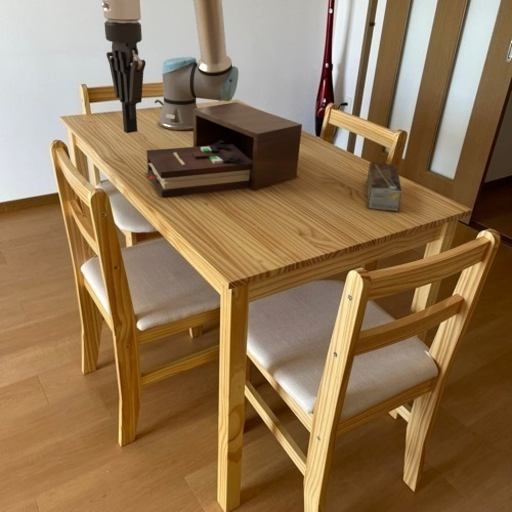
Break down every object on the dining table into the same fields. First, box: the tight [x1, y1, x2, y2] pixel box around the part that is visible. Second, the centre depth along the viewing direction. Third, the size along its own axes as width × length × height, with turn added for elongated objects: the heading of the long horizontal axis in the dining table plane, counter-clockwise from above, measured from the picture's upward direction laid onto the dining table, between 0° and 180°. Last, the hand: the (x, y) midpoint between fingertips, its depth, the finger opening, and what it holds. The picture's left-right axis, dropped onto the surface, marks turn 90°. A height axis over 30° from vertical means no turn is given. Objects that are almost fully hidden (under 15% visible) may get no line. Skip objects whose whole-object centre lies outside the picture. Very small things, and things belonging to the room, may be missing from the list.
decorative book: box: [145, 141, 253, 198], centre depth 133 cm, size 19×8×30 cm
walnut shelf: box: [192, 101, 303, 191], centre depth 140 cm, size 28×16×16 cm, turn 42°
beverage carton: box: [366, 162, 402, 212], centre depth 131 cm, size 8×19×7 cm, turn 170°
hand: (130, 131), depth 114 cm, fingers closed
